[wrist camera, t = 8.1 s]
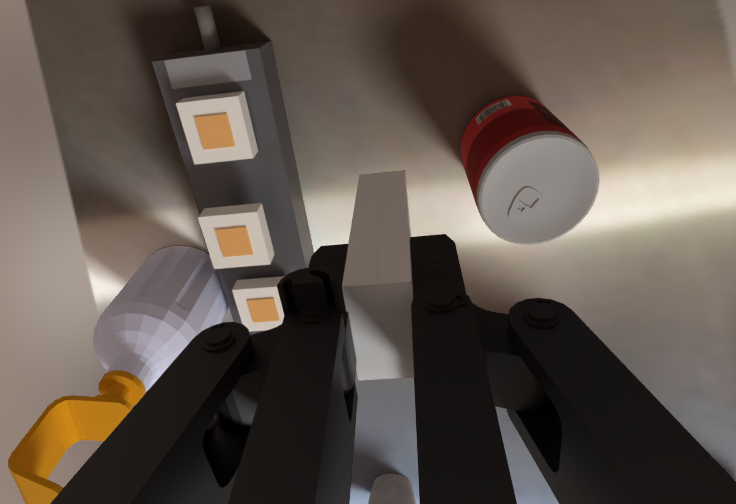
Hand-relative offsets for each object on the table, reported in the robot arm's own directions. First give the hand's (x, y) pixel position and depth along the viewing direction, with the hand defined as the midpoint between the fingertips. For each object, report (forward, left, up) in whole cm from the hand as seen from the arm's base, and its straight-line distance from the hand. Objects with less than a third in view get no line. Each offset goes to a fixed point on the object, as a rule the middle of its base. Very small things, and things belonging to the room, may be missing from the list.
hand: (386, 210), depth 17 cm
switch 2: (+10, -13, -24) cm, 29 cm away
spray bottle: (+18, -22, -27) cm, 39 cm away
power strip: (+9, -13, -26) cm, 31 cm away
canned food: (+7, +9, -27) cm, 29 cm away
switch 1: (+2, -13, -26) cm, 29 cm away
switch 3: (+18, -13, -26) cm, 34 cm away
